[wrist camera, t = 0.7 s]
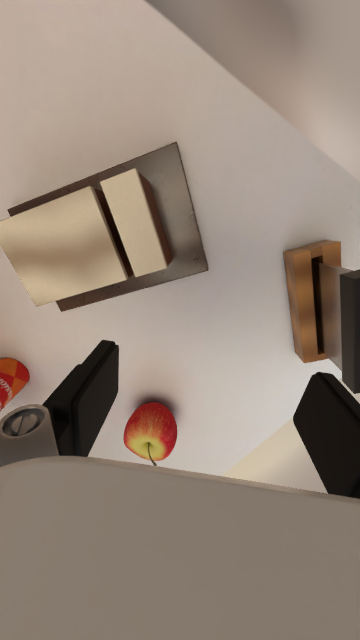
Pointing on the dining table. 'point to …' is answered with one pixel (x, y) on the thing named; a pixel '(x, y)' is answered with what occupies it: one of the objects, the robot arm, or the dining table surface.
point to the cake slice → (137, 221)
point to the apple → (151, 432)
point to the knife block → (307, 294)
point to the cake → (99, 236)
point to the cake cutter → (338, 318)
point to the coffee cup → (11, 379)
